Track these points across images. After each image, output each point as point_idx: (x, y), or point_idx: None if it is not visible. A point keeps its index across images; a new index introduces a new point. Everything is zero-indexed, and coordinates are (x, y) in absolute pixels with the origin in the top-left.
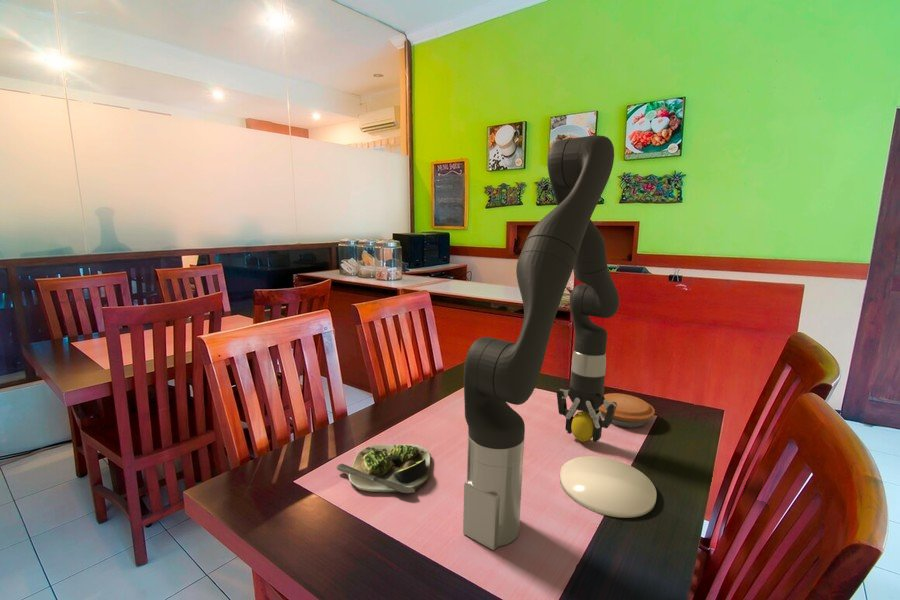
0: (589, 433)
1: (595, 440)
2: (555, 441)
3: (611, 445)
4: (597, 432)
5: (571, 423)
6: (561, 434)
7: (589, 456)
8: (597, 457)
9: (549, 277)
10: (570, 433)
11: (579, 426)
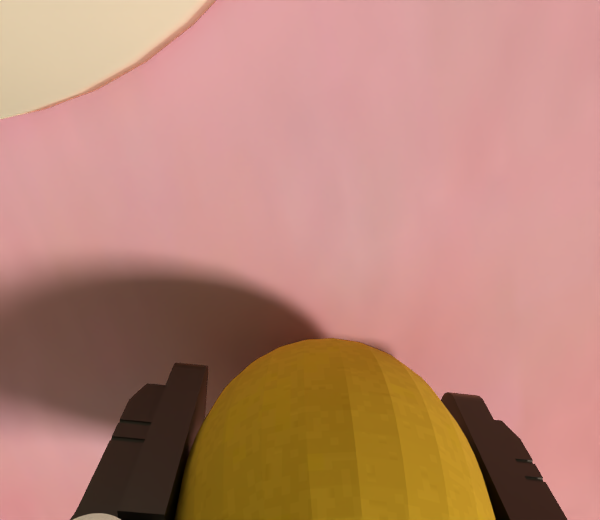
0: (224, 412)
1: (171, 374)
2: (557, 263)
3: (93, 426)
4: (131, 464)
5: None
6: (506, 398)
7: (143, 39)
8: (54, 75)
9: None
10: (444, 400)
11: (373, 454)
